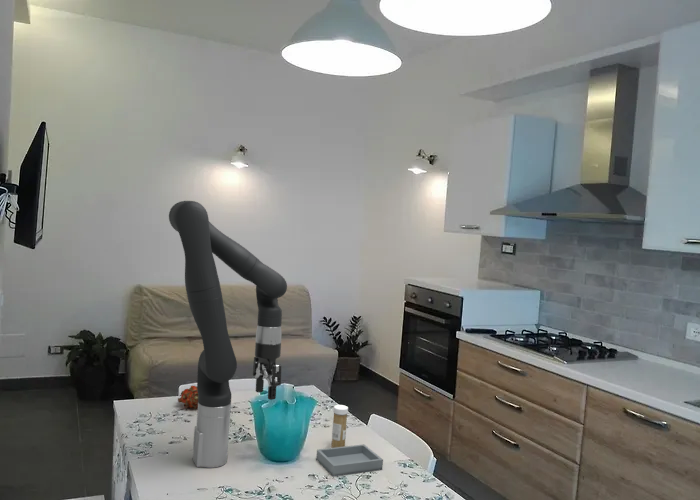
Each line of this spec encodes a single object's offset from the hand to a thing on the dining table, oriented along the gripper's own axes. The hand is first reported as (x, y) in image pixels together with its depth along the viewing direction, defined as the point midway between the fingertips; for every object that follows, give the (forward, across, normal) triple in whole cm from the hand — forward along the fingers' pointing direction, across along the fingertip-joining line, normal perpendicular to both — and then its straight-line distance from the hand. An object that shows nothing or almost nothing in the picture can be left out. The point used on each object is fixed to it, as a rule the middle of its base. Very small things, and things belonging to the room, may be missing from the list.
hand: (265, 395), depth 172 cm
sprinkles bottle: (+19, +2, +25) cm, 31 cm away
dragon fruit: (+16, -51, -5) cm, 53 cm away
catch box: (+19, +14, +22) cm, 32 cm away
